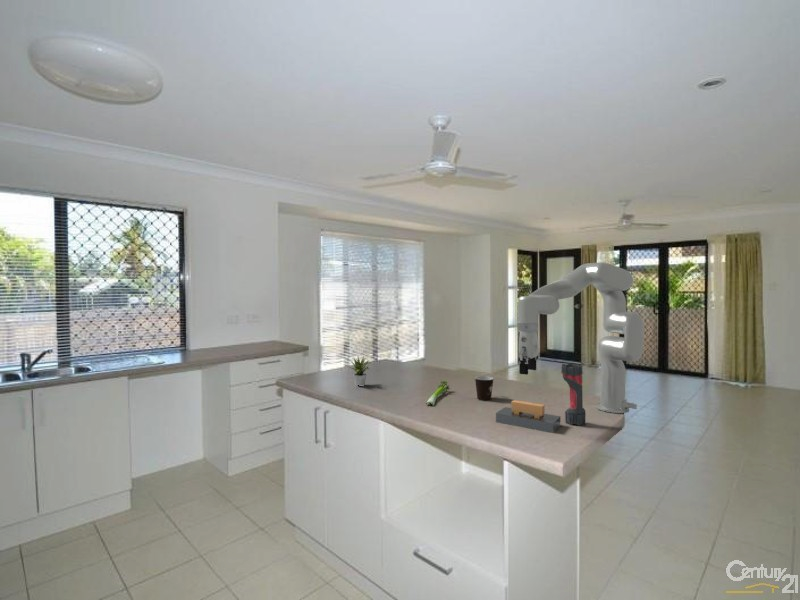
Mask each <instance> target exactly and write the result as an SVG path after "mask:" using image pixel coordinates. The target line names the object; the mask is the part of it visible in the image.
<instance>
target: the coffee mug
mask: <svg viewBox="0 0 800 600" xmlns="http://www.w3.org/2000/svg"><path fill="white" fill-rule="evenodd" d="M474 382H475V390H476V391H475V392H476V399H477V400H478V399H479V400H478V401H482V402H485V401H488V400H489V401H491V400H492V394H493V387H494V386H493V385H494V377H493V376H487V375H486V376H485V375H478V376H475V377H474Z"/></svg>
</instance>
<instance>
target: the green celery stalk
mask: <svg viewBox="0 0 800 600" xmlns="http://www.w3.org/2000/svg"><path fill="white" fill-rule="evenodd" d="M448 383H449V381H448V380H443V381H440V382H439V384H437V385H438V387H437V389H436V391H435V392H434V393H432V395H431V396H430V397H429V399H428V400H427V401H426V403H425V405H428V404H431V405H432V407H434V405H435V403H436V400H437V398H438V397H439V396H440V394H441V393H443V392H446V391H450V390H451V389H450V384H449V385H448Z"/></svg>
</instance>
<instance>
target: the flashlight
mask: <svg viewBox="0 0 800 600" xmlns="http://www.w3.org/2000/svg"><path fill="white" fill-rule="evenodd" d="M583 373H584V371H583V366H582V365H581V364H579V363H576V364H573V363H567V364H565V363H562V364H561V374H562V378H563V380H564V382H566V383H567V384H568V387H569V404H570V405H569V408H567V409H566V410H565V411H564V420H565V422H564V423H566V424H569V425H570V426H573V425H577V426H585V425H586V424H587V423H586V409H585V408H584V407H583V403H584V402H583Z"/></svg>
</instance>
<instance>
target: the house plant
mask: <svg viewBox="0 0 800 600" xmlns="http://www.w3.org/2000/svg"><path fill="white" fill-rule="evenodd" d="M352 359H353V361H354V362H353V361H351V360H350V363H351V364H352V365H353V366H354V367H349V369H352V370H354V371H355V373H353V381H354V386H355V385H366V379H367V373H365V371H366V370H369V371H370V370H371V369H370V365H368V364H369V363H370V361H372V358H371V359H367V360H366V357H365V356H364V355H363V356H362V359H361V361H360V358H359V356H357V359H356V358H354V357H353V358H352ZM365 360H366V361H365Z"/></svg>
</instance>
